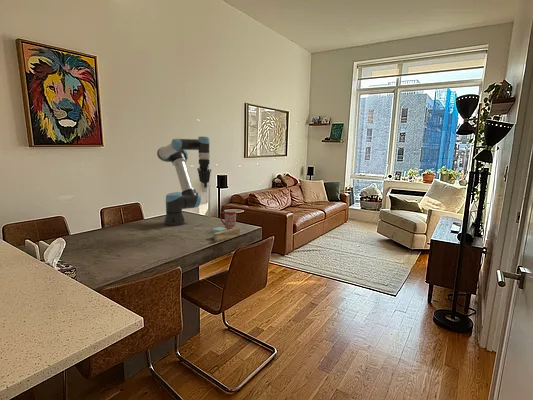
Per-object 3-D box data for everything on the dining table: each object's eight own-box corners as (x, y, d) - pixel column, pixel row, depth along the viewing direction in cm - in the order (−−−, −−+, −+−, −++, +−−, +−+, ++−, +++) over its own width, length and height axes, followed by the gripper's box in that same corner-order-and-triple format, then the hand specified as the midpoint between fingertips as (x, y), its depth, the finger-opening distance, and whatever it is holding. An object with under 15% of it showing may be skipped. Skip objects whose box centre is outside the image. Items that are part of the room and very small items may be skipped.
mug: (238, 227, 233) (238, 209, 231) (233, 230, 225) (233, 212, 222) (222, 226, 237) (222, 208, 235) (217, 229, 228) (217, 210, 226)
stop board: (212, 240, 202) (212, 232, 201) (234, 234, 217) (234, 226, 216) (217, 242, 199) (217, 234, 198) (239, 235, 214) (239, 228, 213)
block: (212, 237, 208) (212, 228, 207) (220, 235, 214) (220, 226, 213) (219, 239, 204) (219, 230, 203) (227, 237, 209) (227, 228, 208)
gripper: (193, 158, 224) (194, 191, 229) (205, 159, 216) (206, 193, 220) (202, 158, 230) (202, 190, 234) (214, 159, 222) (214, 192, 226)
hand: (204, 191), depth 227 cm, fingers closed
